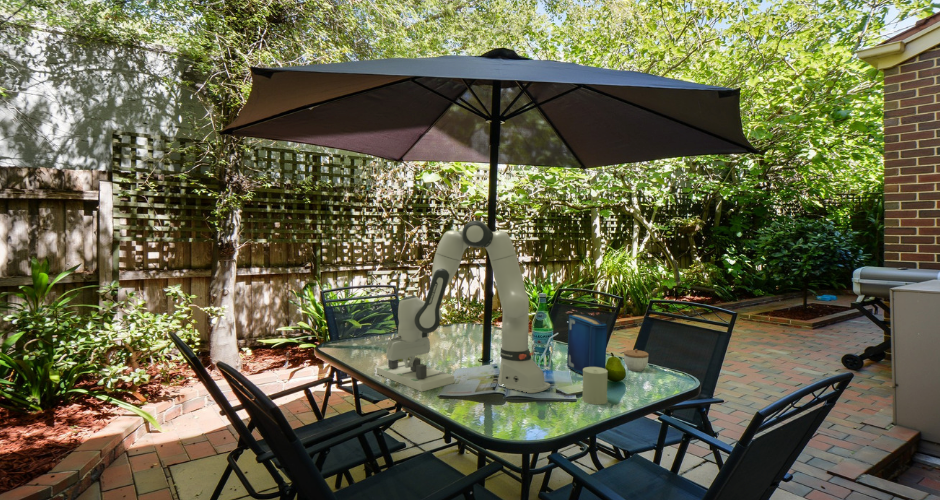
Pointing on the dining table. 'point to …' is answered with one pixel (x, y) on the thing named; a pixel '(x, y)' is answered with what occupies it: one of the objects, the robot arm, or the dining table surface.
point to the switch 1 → (392, 364)
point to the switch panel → (410, 380)
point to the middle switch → (416, 362)
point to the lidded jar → (636, 359)
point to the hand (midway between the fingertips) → (408, 367)
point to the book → (586, 343)
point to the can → (594, 385)
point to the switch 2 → (421, 371)
